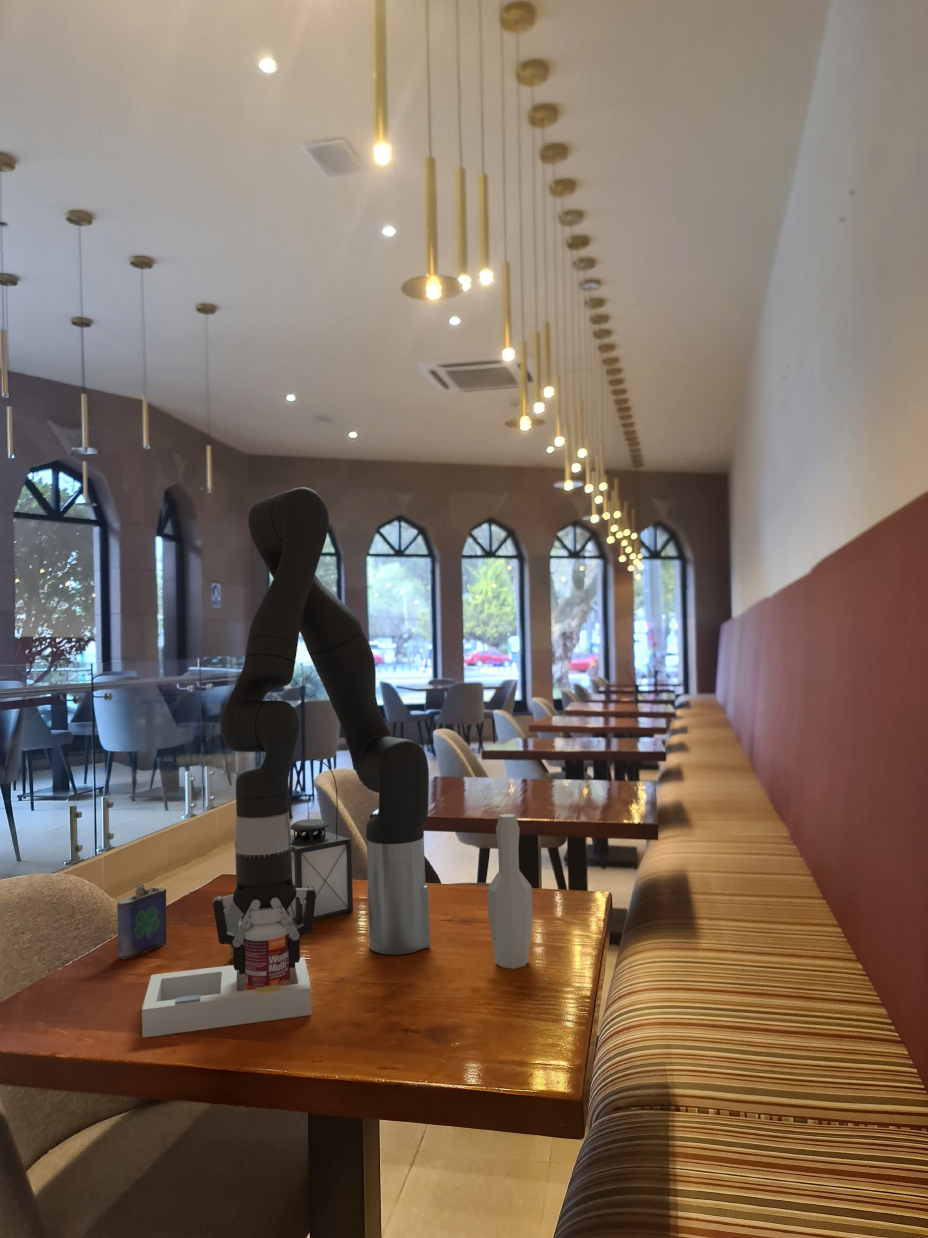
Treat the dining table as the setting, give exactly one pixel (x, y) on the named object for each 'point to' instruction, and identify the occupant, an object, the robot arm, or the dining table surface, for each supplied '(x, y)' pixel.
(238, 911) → the light bulb
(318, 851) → the lantern
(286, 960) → the pill bottle
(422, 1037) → the dining table surface
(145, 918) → the flask
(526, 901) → the faceted bottle
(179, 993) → the socket block
